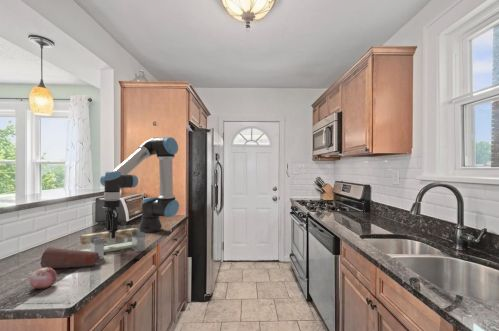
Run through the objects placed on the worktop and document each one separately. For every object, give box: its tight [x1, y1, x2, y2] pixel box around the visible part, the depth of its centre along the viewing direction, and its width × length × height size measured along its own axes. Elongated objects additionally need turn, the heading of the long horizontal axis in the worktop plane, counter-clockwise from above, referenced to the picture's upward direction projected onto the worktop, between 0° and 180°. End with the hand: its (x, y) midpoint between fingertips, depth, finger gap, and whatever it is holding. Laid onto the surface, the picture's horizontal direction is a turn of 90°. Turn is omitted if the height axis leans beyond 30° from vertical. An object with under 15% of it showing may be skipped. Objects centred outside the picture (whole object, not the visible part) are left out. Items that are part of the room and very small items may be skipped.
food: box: [40, 246, 101, 269], centre depth 123 cm, size 21×9×9 cm, turn 105°
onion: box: [29, 267, 58, 291], centre depth 101 cm, size 8×8×7 cm
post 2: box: [131, 230, 146, 253], centre depth 149 cm, size 4×7×10 cm, turn 44°
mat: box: [78, 241, 132, 253], centre depth 150 cm, size 32×10×1 cm, turn 133°
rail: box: [79, 227, 139, 245], centre depth 150 cm, size 28×4×4 cm, turn 133°
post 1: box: [89, 236, 105, 260], centre depth 135 cm, size 4×7×10 cm, turn 44°
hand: (111, 243), depth 150 cm, fingers closed on rail, 4 cm apart
